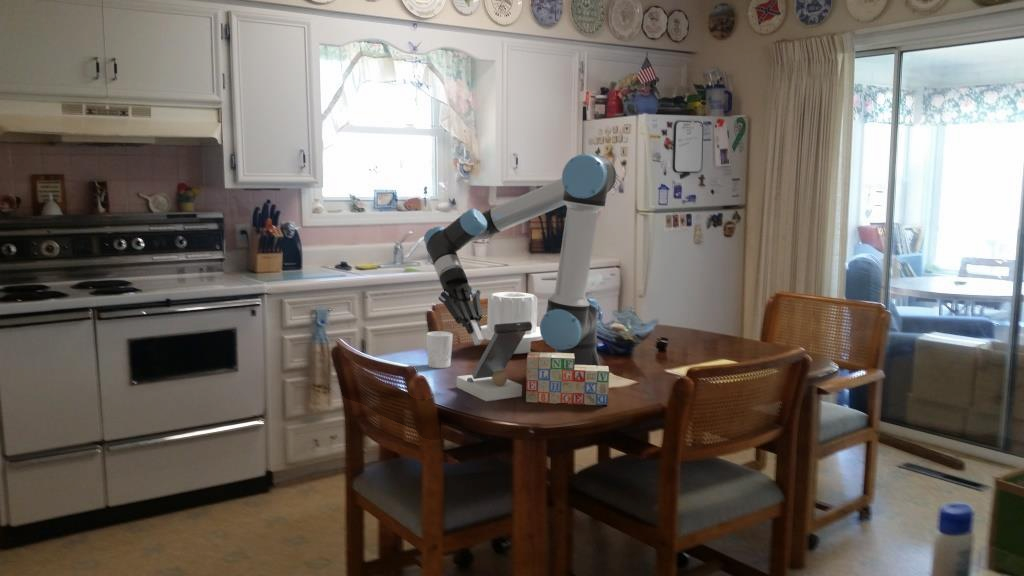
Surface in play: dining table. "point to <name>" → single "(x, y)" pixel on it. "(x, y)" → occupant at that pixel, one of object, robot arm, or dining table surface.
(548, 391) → the stack of blocks
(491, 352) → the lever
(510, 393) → the white slotted base
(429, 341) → the white cup
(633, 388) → the dining table surface
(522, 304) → the ribbed cylinder on disc
